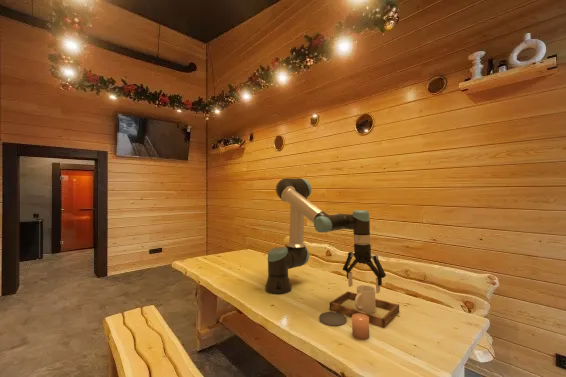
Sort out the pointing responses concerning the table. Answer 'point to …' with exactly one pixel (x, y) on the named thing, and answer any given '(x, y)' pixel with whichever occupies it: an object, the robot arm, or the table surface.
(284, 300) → the table surface
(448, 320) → the table surface
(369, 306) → the mug
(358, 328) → the orange rounded cylinder
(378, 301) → the frame
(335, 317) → the dark brown round mat
